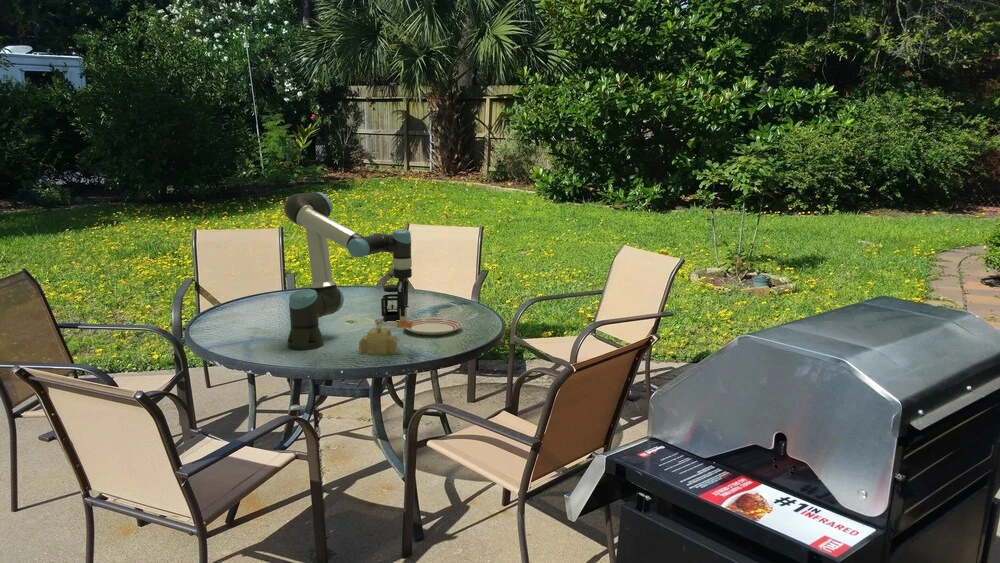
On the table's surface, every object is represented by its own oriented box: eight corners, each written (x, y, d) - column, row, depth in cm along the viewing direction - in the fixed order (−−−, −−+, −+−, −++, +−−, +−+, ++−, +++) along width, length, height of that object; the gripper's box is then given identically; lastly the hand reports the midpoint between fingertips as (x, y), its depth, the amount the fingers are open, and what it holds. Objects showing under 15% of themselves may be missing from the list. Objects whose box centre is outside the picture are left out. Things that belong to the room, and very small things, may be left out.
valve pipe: (358, 353, 306) (357, 332, 304) (363, 348, 314) (362, 327, 312) (396, 354, 304) (395, 333, 303) (400, 349, 312) (400, 328, 311)
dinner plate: (432, 320, 362) (431, 313, 361) (473, 329, 345) (473, 323, 344) (390, 331, 341) (390, 324, 340) (432, 342, 324) (432, 335, 323)
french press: (394, 316, 369) (393, 271, 364) (407, 319, 363) (406, 273, 358) (376, 320, 360) (375, 274, 355) (389, 323, 354) (388, 276, 350)
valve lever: (376, 328, 309) (376, 319, 308) (413, 329, 308) (412, 320, 307) (374, 330, 306) (374, 321, 305) (411, 331, 305) (411, 322, 304)
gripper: (396, 264, 310) (398, 319, 315) (389, 270, 297) (391, 327, 302) (414, 265, 309) (415, 319, 314) (408, 271, 297) (409, 327, 302)
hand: (403, 323), depth 308 cm, fingers closed
